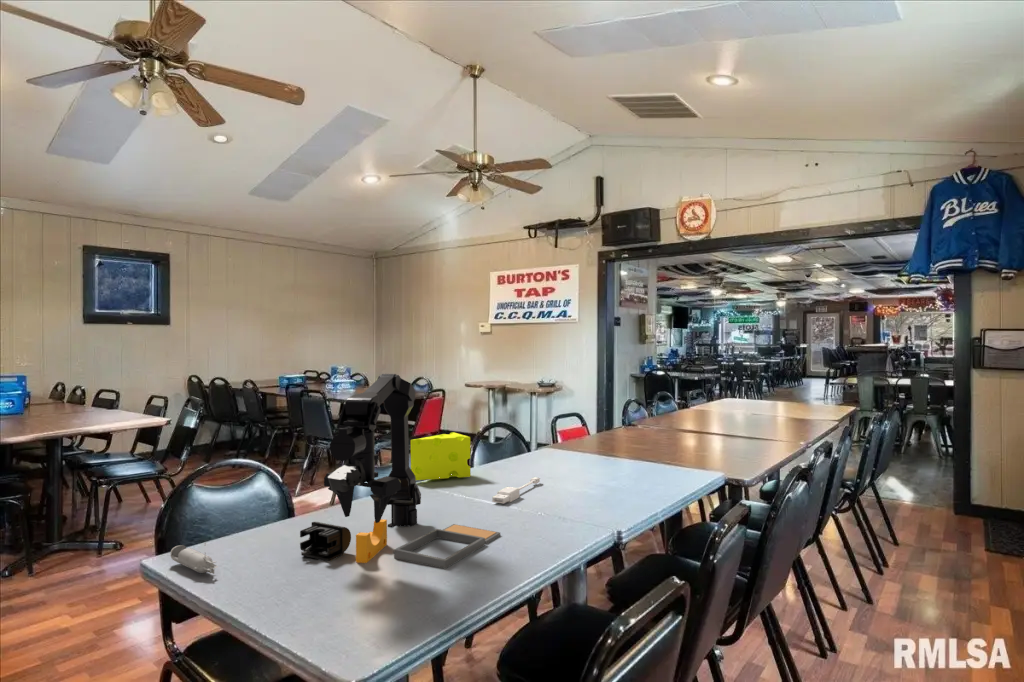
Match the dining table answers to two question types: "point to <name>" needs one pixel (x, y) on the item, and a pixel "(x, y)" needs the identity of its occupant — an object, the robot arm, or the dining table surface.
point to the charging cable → (511, 492)
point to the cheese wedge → (440, 456)
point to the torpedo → (193, 559)
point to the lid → (474, 532)
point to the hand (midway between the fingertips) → (362, 519)
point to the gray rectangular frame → (407, 555)
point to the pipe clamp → (371, 542)
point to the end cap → (325, 541)
